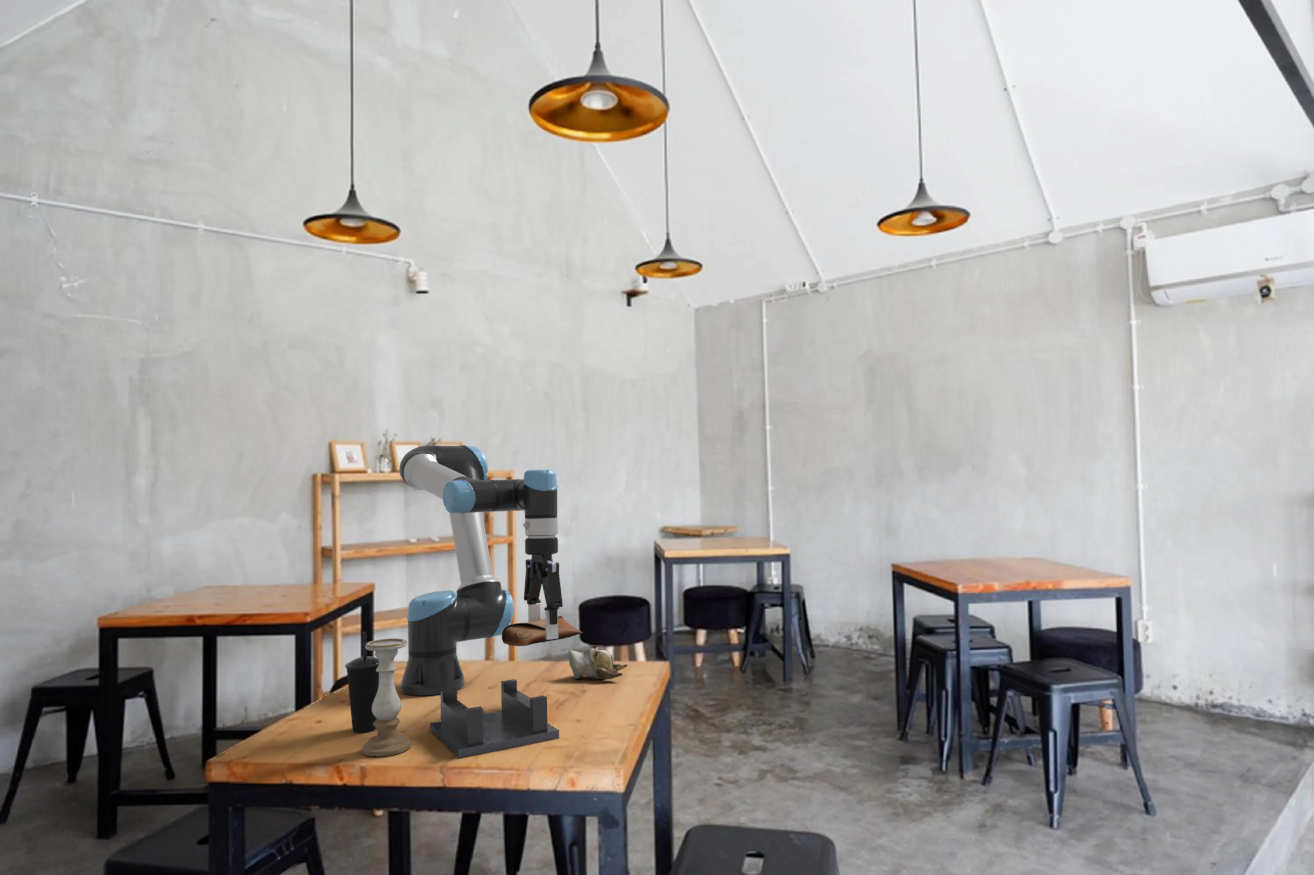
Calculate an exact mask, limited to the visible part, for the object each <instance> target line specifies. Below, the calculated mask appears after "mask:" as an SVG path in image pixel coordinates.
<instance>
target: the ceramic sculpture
mask: <svg viewBox="0 0 1314 875" xmlns="http://www.w3.org/2000/svg"><path fill="white" fill-rule="evenodd" d="M567 654H568V661H569V666H570V669H571V671H572V673H573V676H574V678H575V679H577V680H578V679H581V678H582V677H584V676H585V677H590V678H592V679H597V680H602V679H605V680H612V679H616V678H618V677H621V676H623V673H622V672H619V671H621V670H624V669H626V668H627V667H628V666H629V665H628V664H626V663H625V664H619V663H616V662H614V656H613V655H612V654H611V652H610V651H608V650H606V649H599V647H598V645H596V644H595V645H594V644H593V645H592V646H590V647H588V648H586V650H585V651H584V652H579V651H575V650H572V649H568V653H567Z"/></svg>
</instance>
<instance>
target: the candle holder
mask: <svg viewBox="0 0 1314 875" xmlns="http://www.w3.org/2000/svg"><path fill="white" fill-rule="evenodd" d="M406 647H408V641H407V640H406V639H404V638H395V637H394V638H381V639H374V640H371V641H368V642H367V644H366V646H365V648H366V649H367V651H371V652H374V657H376V658H378V660H379V666H378V667H377V669H376V672H378V673H379V687H378V691H377V694H376V696H375V699H374V701H373V704H372V713H373V715H374V716H375V717H376V718H377V719H376V721H375V722H374V726H375V727H376V732H377V733H376V735H374V736H372V737H370V738H369V739H368V740H367V742H366V743H364V745H362V754H364V755H365V756H368V757H374V756H376V757H379V758H380V757H389V756H395V755H398V754H402V753H404V752H406V751H408V750H409V749H410V748H411V746H412V742H411V740H410V738H408V737H406V735H405V734H404V733H401V732H397V729H398V728H397V727H398V725H399V724H400V722H401V720H400V718H398V717H397V716H399V714H400V712H401V710H402V702H401V699H400V696H399V694H398V692H397V689H396V686H395V671H396V670H398V668H397V666H396V664H395V658H396V656H397V655H398V654H399V651H398V650H400V649H403V648H406ZM376 757H375V758H376Z"/></svg>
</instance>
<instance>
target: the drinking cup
mask: <svg viewBox="0 0 1314 875" xmlns="http://www.w3.org/2000/svg"><path fill="white" fill-rule="evenodd" d="M367 634H368V633H367V631H363V632H362V656H359V657H356V658H354V659H352V660H351V661H348V662H347V663H345V665H344V668H345V669H346V674H347V684H348V695H349V697H348V698H349V705H350V706H349V707H350V715H351V727H352V728H351V729H352V732H353V733H357V734H363V733H370V732H373V731H377V729H376V727H375V726H374V722H375V721H376V719H377V718H376V717H375V716H374V715H373V713H372V704H373V701H374V699H375V696H376V694H377V691H378V687H379V673H378V672H376V669H377V667H378V666H379V660H378V658H377V657H376V656H368V654H367V652H368V650H367V649H366V648H365V646H366V644H367V643H368V642H367V638H368V637H367Z"/></svg>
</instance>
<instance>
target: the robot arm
mask: <svg viewBox="0 0 1314 875" xmlns="http://www.w3.org/2000/svg"><path fill="white" fill-rule="evenodd" d="M398 470H399V475H400V478H401V480H402V481H403V482H404V484H406V485H407V486H408V487H410V488H412V489H415V490H425V491H427V492H428V493H430V494H432V495H433V496H436V497H437V498H439V499H440V500H442V502H443V503H442V504H443V506H444V507H445V510H446V511H447V512H449V519H450V525H451V530H452V531H451V532H452V538H453V544H454V548H455V555H456V561H457V568H458V574H459V578H460V579H459V581H460V585H459V586H458V588H457V589H456V591H454V590H450V589H448V590H440V591H439V590H437V591H432V592H427V593H424V594H420V595H418V596H416V597H414V598H412V599H411V600H410V601H409V604H408V610H407V611H408V613H407V617H406V618H407V628H408V629H407V631H408V632H407V633H408V634H407V636H408V637H407V640H408V641H407V648H408V649H407V650H408V651H407V652H408V656H407V657H408V659H407V662H406V665H405V668H404V672H403V676H402V678H401V682H400V692H402V693H403V694H405V695H410V696H434V695H441V690H448V689H454V688H455V689H457V691H458V690H460V689H462V688H463V687H464V686H465V676H464V672H463V669H462V667H461V664H460V661H459V658H458V654H457V643H458V642H467V641H474V640H479V639H480V640H481V639H486V638H487V639H491V638H493V637H498V636H502V632H503V630H504V628H505V627H507V626H508V625H511V624H512V623H513V622H512V621H513V618H514V606H515V605H514V600H513V596H512V595H511V592H510V591H509V590H507V589H502V584H501V581H500V580H498V579H497V578H496V577H494V572H493V567H492V562H491V561H492V560H491V557H490V556H491V555H490V549H489V545H488V538H487V533H486V529H485V524H484V517H483V513H490V512H491V513H492V512H497V513H498V512H520V511H523V512H524V523H523V524H522V525H523V526H522V527H524V533H525V534H524V535H525V536H526V538H525V540H524V546H525V547H524V552H525V554H526V555H528V556H531V559H530V558H529V559H525V578H524V592H523V601H526V604H527V607H528V609H527V611H528V613H527V616H528V618H527V619H528V622H532V621H538V620H541V604H542V601H541V599H540V595H541V590H543V594H544V599H545V603H546V604H545V605H546V606H545V607H544V608H543V610H544V612H545V624H546V640H550V639H558V616H559V609H560V608H563V605H564V604H563V603H564V602H563V597H562V587H561V579H560V563H559V561H557V562H554V561H553V557H552V556H553V555H554V554H557V553H558V552H559V539H558V537H557V535H558V534H559V525H558V524H559V520H558V519H559V518H558V488H559V487H558V486H559V485H558V484H557V483H558V481H557V473H556V471H555V470H554V469H528V470H525V472H524V473H523V478H522V479H521V478H519V479H518V478H514V479H513V478H511V479H488V478H489V475H488V474H489V473H488V472H489V467H488V462H487V458H486V456H485V455H484V452H482V450H481V449H479V448H478V447H477V446H471V445H464V444H463V445H462V444H459V445H432V444H431V445H429V444H428V445H421V446H417V447H413V449H411V450H409V451H408V452H407V453H406V454H404V456H403V457H402V459H401V461H400V463H399V469H398Z"/></svg>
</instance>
